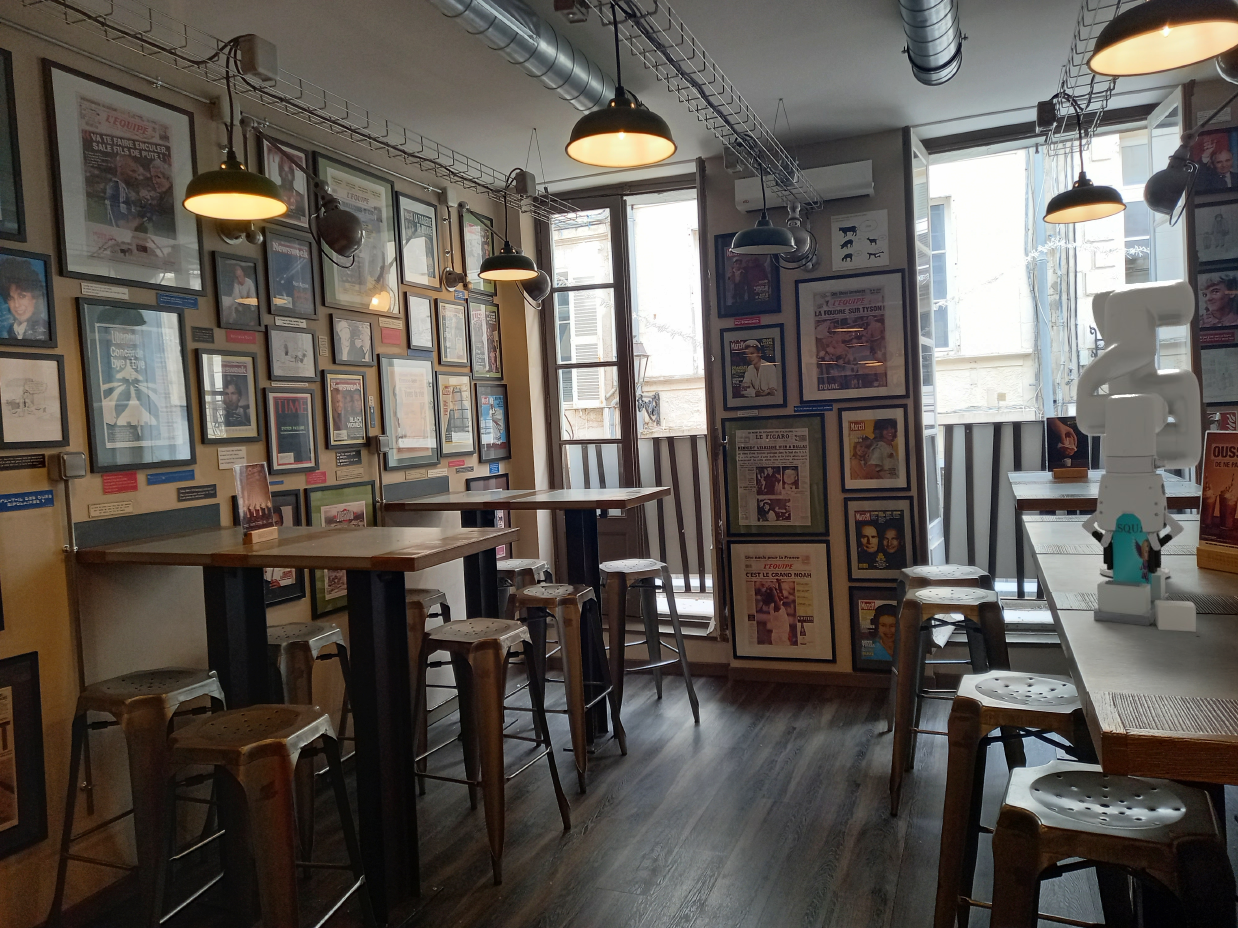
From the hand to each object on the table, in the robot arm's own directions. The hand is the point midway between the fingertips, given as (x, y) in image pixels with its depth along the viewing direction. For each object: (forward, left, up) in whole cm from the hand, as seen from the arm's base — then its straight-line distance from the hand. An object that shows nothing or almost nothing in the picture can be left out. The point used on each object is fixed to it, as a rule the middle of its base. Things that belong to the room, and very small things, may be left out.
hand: (1131, 569), depth 149 cm
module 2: (-6, 0, -6) cm, 9 cm away
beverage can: (0, 0, -5) cm, 5 cm away
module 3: (+8, +8, -8) cm, 13 cm away
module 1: (+7, 0, -6) cm, 9 cm away
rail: (0, 0, -7) cm, 7 cm away
